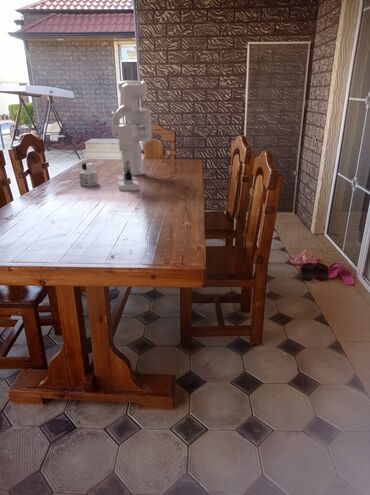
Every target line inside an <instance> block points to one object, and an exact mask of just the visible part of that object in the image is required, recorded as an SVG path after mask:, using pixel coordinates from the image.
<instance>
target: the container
mask: <svg viewBox="0 0 370 495" xmlns="http://www.w3.org/2000/svg"><path fill="white" fill-rule="evenodd" d="M81 167H82V168H81V169H82V171H80V172H79V174H78V176H79V182H80V184H79V185H80V186H85V187H92V186H96V185H99V175H98V171H95V169H94V163H93V162H83V163H82V164H81Z"/></svg>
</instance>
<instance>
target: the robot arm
mask: <svg viewBox="0 0 370 495" xmlns="http://www.w3.org/2000/svg"><path fill="white" fill-rule="evenodd" d="M117 86H118V91H119V93H120V95H119V96H120V101H119V107H118V109H116V110H115V111H114V113H113V115H112V117H111V128H110V129H111V134H112V136H113V137H114V138H118V149H119V152H121V156H120V157H121V168H122V169H123V172H126V173H125V175H126V180H132V178H131V172H132V176H142V174H143V175H145V172H146V171H143V158H142V156H143V155H142V146H141V145H140V143H139V142H147V141H150V140H152V135H153V134H152V120H151V119H152V116H151V112H150V110H149V109H148V108H140V107H139V100H144V99H146V96H147V93H148V86H147V82H146V81H145V80H121V81H119V82H118V85H117ZM124 117H125V120H126V122H127V123H126V122H125V123H124V122H123V123H122V122H121V123H118V122H119V121H120V120H121V119H122V118H124Z"/></svg>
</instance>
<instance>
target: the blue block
mask: <svg viewBox="0 0 370 495" xmlns="http://www.w3.org/2000/svg"><path fill="white" fill-rule="evenodd" d="M125 173H126V172H124V171H123V172H122V181H123V183H124V184H133V181H134V178H133V177H134V175H132V172H131V178H132V180H126V175H125Z"/></svg>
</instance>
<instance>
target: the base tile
mask: <svg viewBox="0 0 370 495" xmlns="http://www.w3.org/2000/svg"><path fill="white" fill-rule="evenodd" d="M117 187H118V189H119V190H118V191H121V192H123V191H139V190H140V185H139V183H138V181H137V180H133V184H124V183H123V180H122V181H118V182H117Z"/></svg>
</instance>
